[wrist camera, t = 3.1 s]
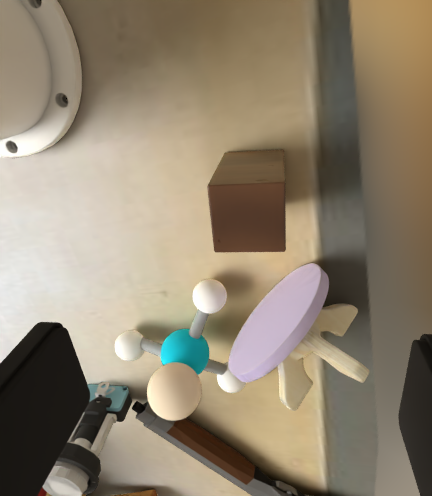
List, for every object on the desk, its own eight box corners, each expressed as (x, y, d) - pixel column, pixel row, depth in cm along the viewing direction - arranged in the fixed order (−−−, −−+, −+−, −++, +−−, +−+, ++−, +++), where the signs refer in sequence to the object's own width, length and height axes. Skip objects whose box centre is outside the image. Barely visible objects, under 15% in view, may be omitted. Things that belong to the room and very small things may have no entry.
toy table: (308, 450, 23) (245, 401, 22) (260, 379, 32) (213, 341, 30) (408, 333, 23) (354, 277, 22) (334, 295, 32) (291, 253, 31)
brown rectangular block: (224, 152, 25) (206, 185, 19) (283, 148, 24) (285, 182, 18) (228, 206, 27) (214, 252, 21) (284, 205, 26) (285, 252, 20)
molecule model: (180, 248, 29) (145, 319, 21) (298, 325, 31) (304, 416, 23) (117, 335, 35) (71, 416, 27) (219, 395, 36) (203, 487, 29)
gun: (392, 533, 43) (346, 542, 47) (165, 375, 36) (130, 401, 40) (396, 557, 41) (348, 565, 45) (157, 395, 34) (122, 420, 38)
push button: (81, 405, 41) (28, 500, 32) (68, 370, 38) (7, 464, 30) (138, 409, 40) (98, 510, 31) (128, 374, 37) (82, 472, 29)
